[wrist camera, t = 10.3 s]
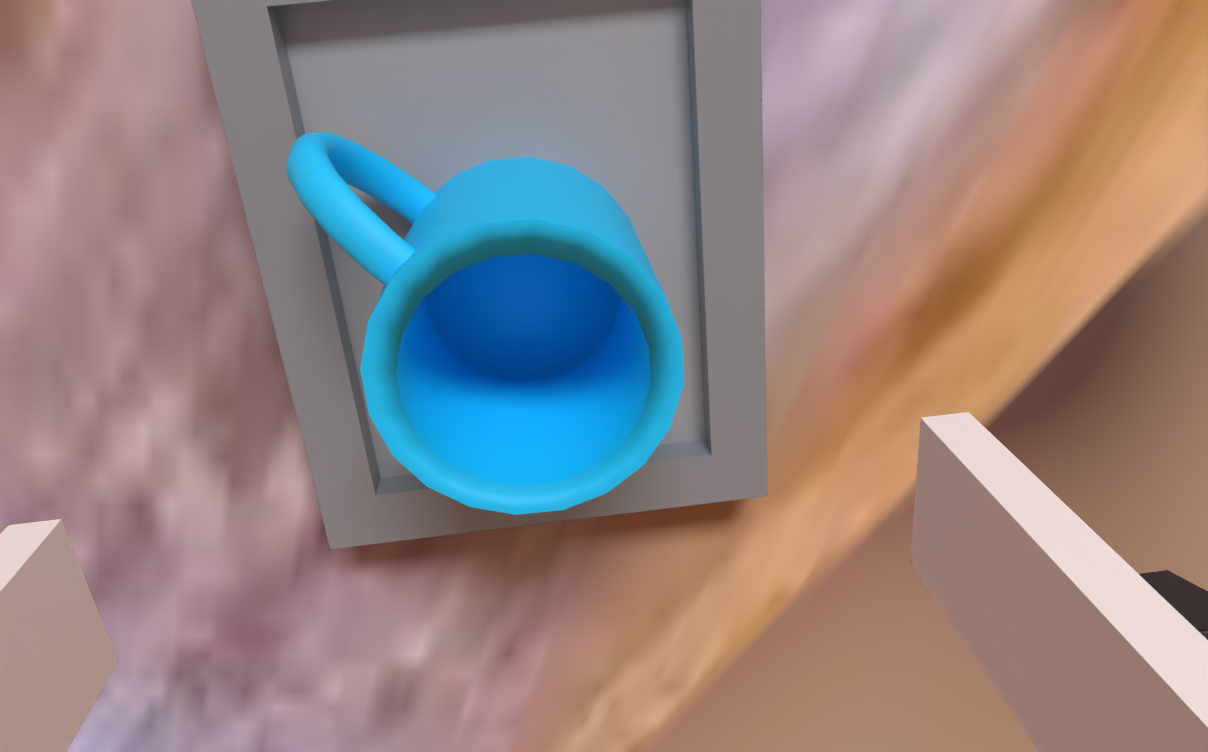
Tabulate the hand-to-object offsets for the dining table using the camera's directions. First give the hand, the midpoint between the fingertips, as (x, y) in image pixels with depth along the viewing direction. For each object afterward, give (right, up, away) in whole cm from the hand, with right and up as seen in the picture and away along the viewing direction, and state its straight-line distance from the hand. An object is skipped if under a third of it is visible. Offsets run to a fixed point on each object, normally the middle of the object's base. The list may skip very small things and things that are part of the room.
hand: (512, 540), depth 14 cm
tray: (-2, +7, +17) cm, 19 cm away
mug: (-3, +7, +16) cm, 17 cm away
